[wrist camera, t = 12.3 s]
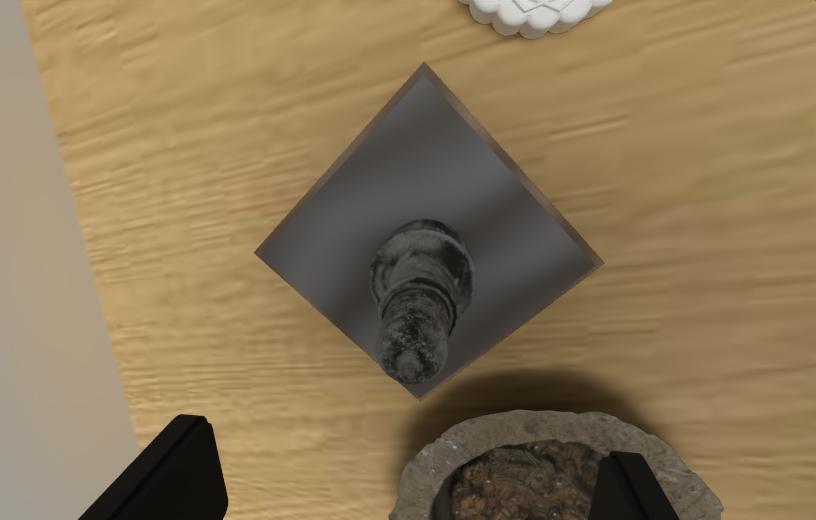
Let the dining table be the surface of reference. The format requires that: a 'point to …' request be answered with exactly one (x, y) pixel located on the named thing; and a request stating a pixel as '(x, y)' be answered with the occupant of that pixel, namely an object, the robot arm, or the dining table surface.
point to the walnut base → (436, 200)
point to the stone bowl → (536, 469)
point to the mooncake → (533, 15)
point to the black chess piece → (420, 298)
